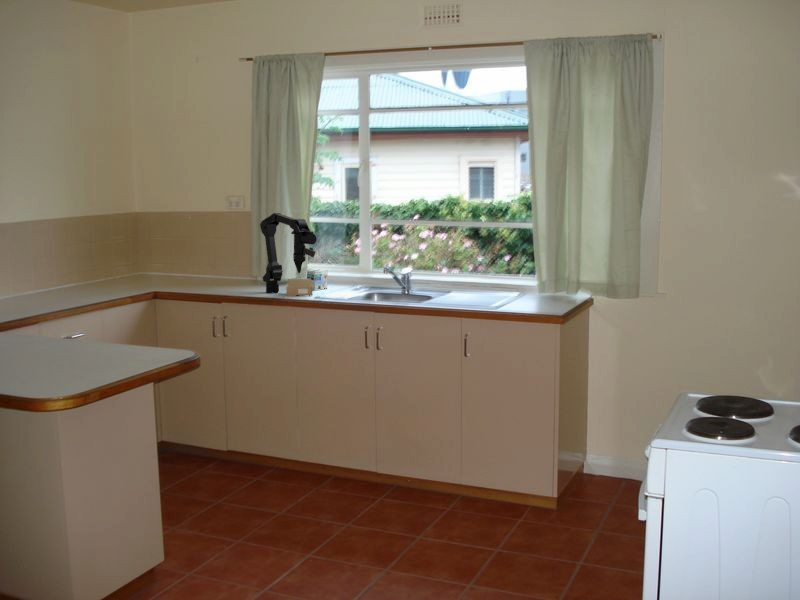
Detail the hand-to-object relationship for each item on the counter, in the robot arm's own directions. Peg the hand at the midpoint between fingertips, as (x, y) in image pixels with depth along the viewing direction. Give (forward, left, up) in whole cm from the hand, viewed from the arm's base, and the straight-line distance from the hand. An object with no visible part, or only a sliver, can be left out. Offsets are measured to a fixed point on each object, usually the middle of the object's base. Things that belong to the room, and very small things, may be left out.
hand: (299, 272), depth 459 cm
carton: (0, +8, -13) cm, 15 cm away
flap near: (0, +2, -5) cm, 6 cm away
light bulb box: (+11, +30, -13) cm, 34 cm away
